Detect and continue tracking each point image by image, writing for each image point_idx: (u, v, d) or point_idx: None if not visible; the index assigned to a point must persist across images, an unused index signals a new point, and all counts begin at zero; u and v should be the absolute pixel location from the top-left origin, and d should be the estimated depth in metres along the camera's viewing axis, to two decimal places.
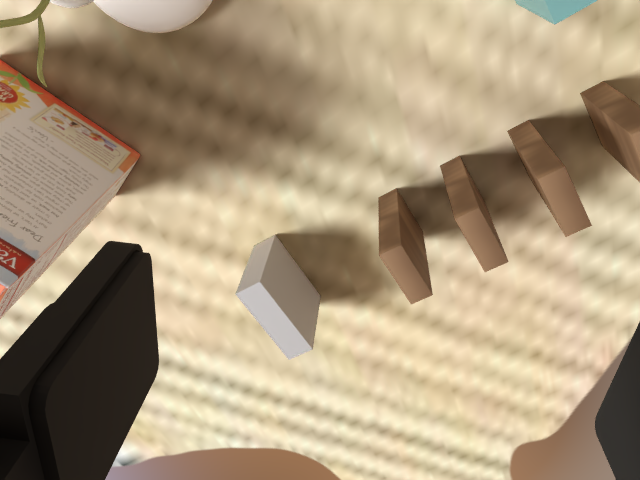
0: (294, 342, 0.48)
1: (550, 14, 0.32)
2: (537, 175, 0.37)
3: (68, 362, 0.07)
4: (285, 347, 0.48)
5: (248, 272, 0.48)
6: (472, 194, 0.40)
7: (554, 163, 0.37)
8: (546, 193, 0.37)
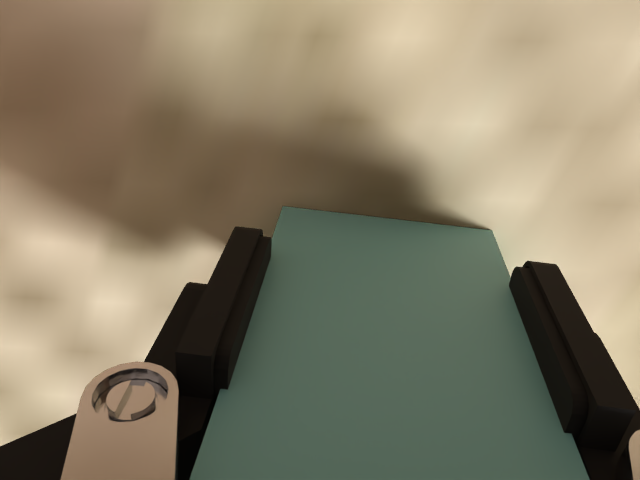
0: None
1: None
2: None
3: (238, 330, 0.08)
4: None
5: None
6: None
7: None
8: None
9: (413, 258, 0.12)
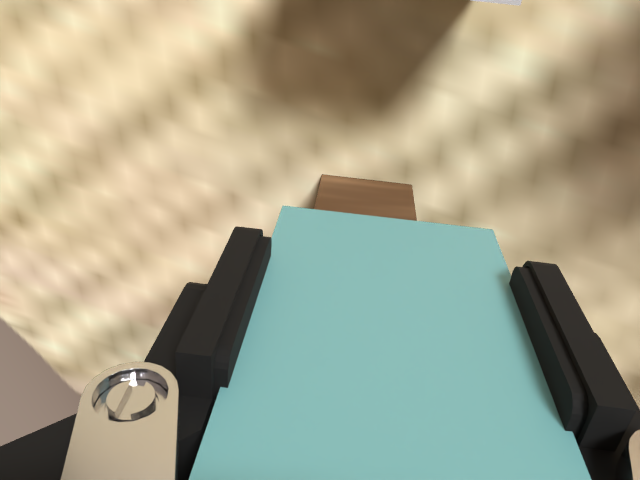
0: None
1: None
2: None
3: (238, 330, 0.08)
4: None
5: None
6: None
7: None
8: None
9: (413, 258, 0.12)
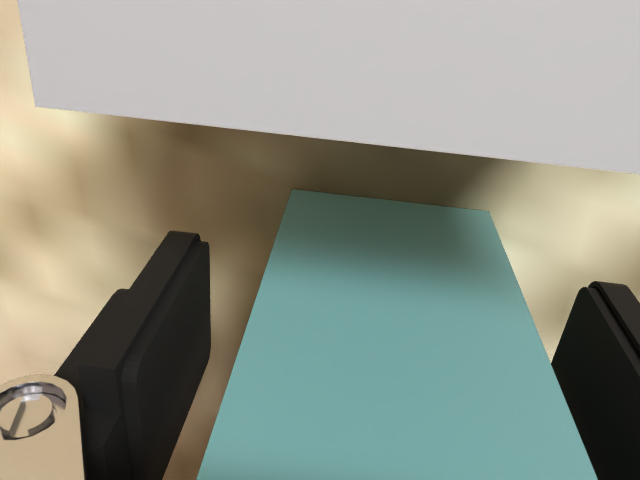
0: (175, 10, 0.05)
1: None
2: None
3: (152, 341, 0.08)
4: None
5: None
6: None
7: None
8: None
9: (415, 235, 0.12)
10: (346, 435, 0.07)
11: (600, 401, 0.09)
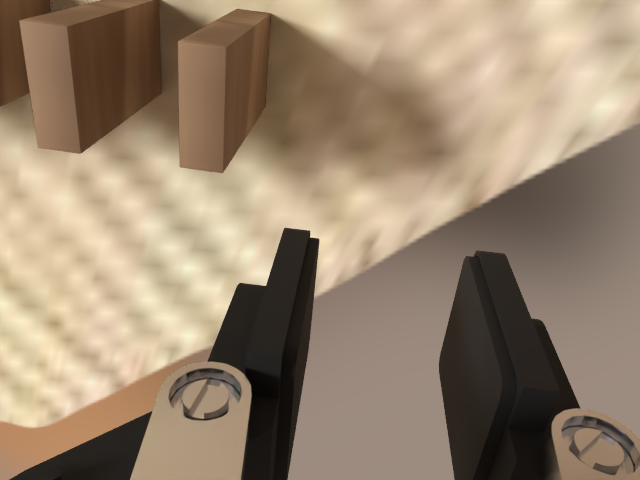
0: None
1: None
2: (29, 18, 0.21)
3: (301, 330, 0.08)
4: None
5: None
6: None
7: (68, 21, 0.21)
8: (26, 55, 0.21)
9: None
10: None
11: (468, 359, 0.10)
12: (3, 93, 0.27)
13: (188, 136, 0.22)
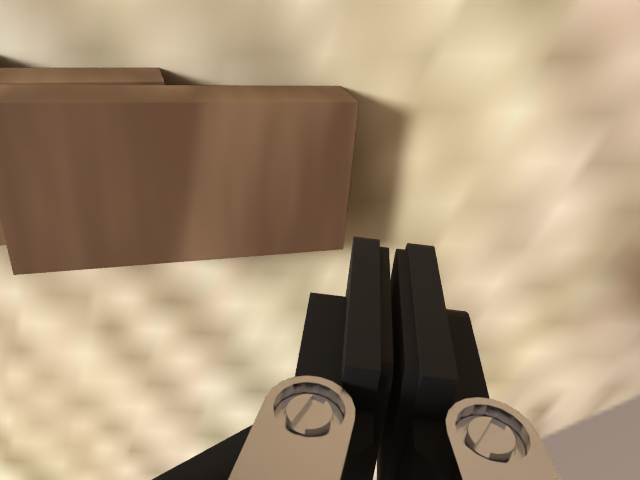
0: None
1: None
2: None
3: (392, 343, 0.08)
4: None
5: None
6: None
7: None
8: None
9: None
10: None
11: None
12: None
13: None
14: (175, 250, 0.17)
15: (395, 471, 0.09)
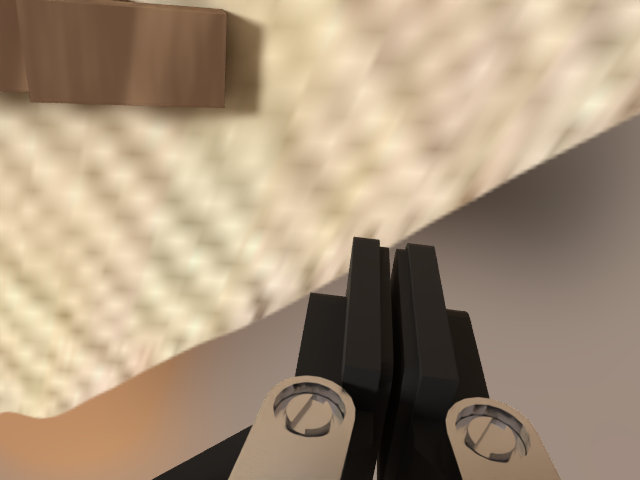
0: None
1: None
2: None
3: (392, 343, 0.08)
4: None
5: None
6: None
7: None
8: None
9: None
10: None
11: None
12: None
13: None
14: (122, 97, 0.30)
15: (395, 471, 0.09)
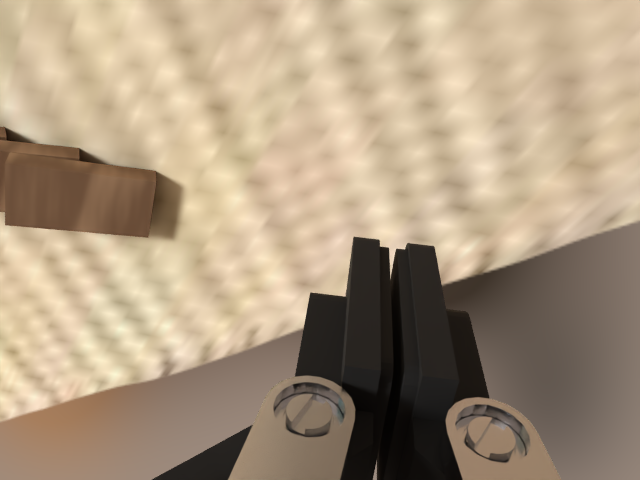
0: None
1: None
2: None
3: (392, 343, 0.08)
4: None
5: None
6: None
7: None
8: None
9: None
10: None
11: None
12: None
13: None
14: (73, 226, 0.42)
15: (395, 471, 0.09)
